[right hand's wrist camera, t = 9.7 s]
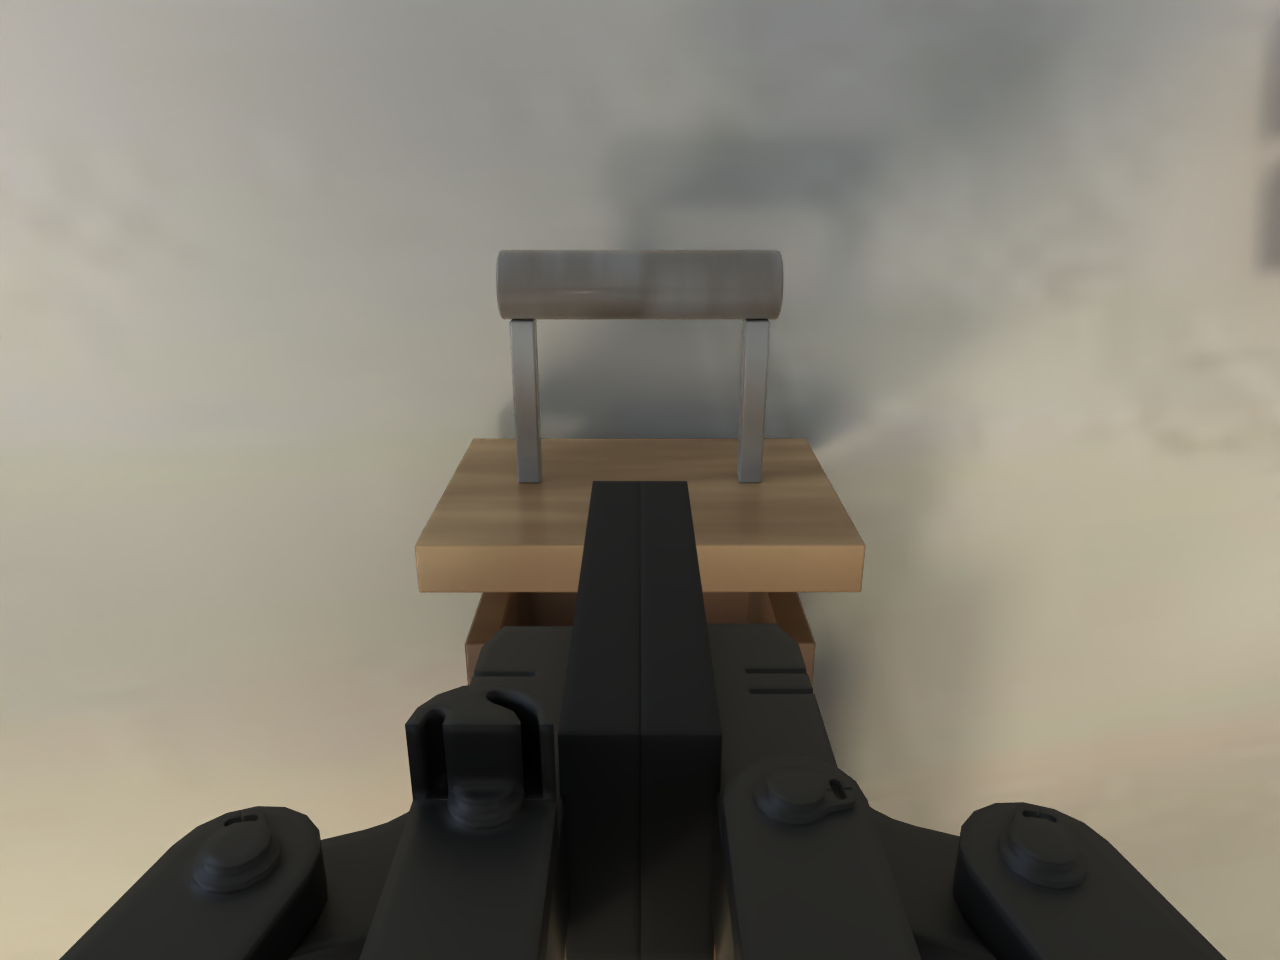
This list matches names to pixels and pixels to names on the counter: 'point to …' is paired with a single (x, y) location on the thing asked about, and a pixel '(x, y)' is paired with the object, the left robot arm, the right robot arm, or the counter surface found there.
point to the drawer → (639, 460)
